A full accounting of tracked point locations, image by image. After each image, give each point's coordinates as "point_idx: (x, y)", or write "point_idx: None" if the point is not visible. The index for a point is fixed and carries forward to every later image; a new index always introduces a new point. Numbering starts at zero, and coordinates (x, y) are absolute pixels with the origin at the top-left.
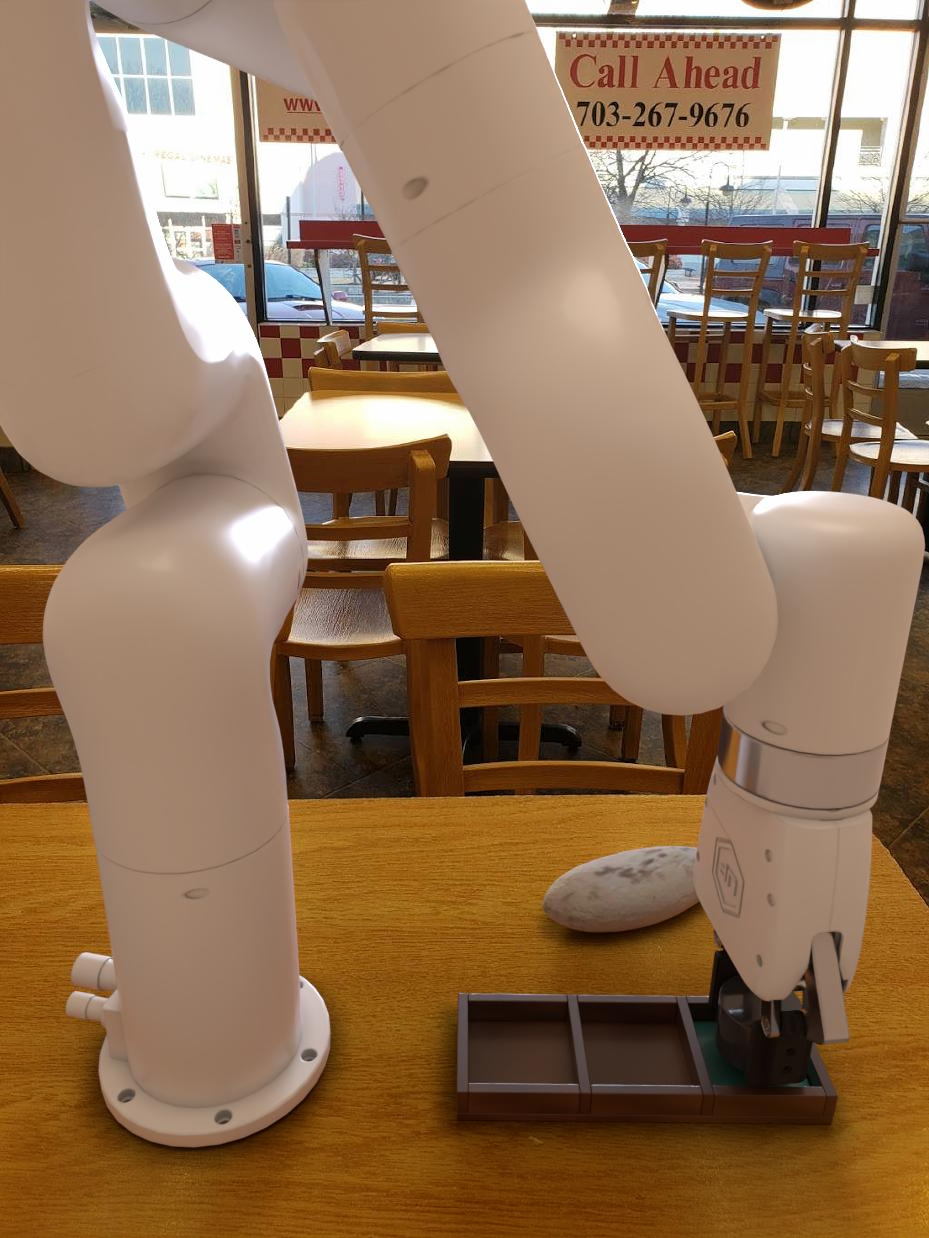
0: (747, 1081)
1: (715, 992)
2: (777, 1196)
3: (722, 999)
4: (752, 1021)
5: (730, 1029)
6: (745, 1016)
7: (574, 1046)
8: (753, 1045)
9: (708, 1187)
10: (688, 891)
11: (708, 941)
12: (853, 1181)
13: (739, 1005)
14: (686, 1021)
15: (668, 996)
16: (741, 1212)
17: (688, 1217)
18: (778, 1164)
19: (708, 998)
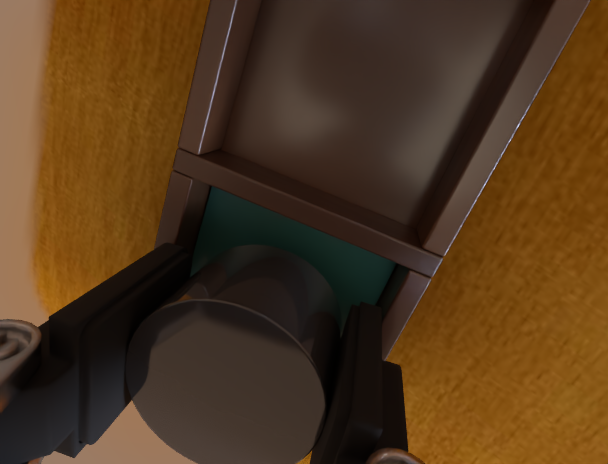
0: (166, 243)
1: (356, 332)
2: (78, 176)
3: (260, 320)
4: (75, 325)
5: (208, 281)
6: (186, 332)
7: None
8: (99, 287)
9: (104, 81)
10: None
11: (589, 425)
12: (86, 285)
13: (227, 344)
14: (361, 232)
15: (449, 241)
16: (62, 108)
17: (62, 15)
18: (122, 212)
19: (401, 317)
